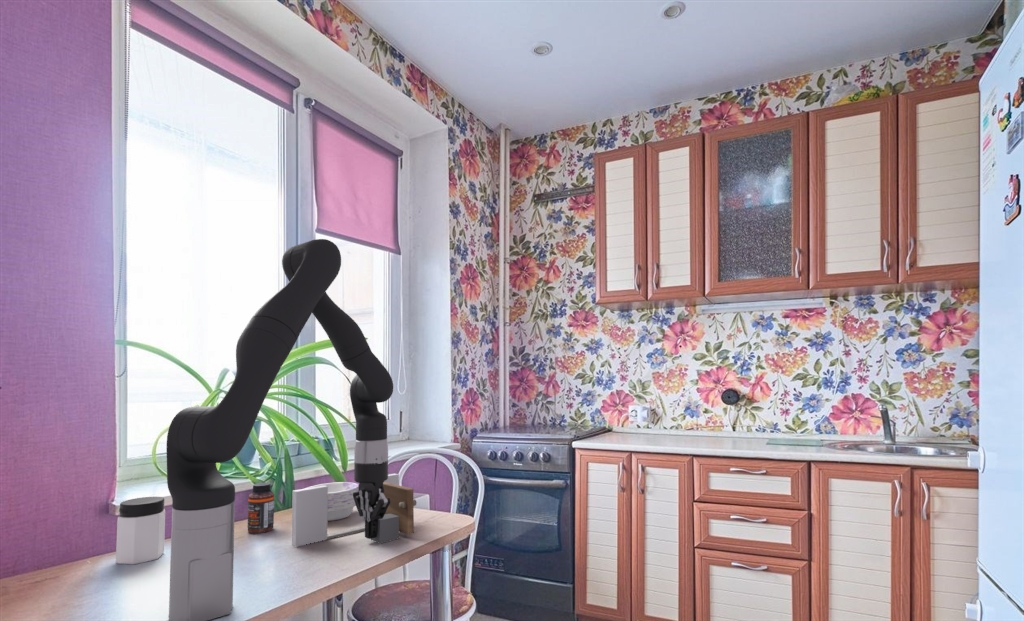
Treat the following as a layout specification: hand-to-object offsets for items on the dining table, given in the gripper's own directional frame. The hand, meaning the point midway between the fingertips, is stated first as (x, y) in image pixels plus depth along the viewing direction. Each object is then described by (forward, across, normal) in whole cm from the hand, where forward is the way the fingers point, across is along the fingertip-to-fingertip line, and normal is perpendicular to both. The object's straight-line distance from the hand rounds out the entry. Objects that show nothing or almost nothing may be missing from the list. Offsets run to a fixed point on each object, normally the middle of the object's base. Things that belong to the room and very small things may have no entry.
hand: (370, 537), depth 132 cm
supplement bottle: (+1, -30, -13) cm, 33 cm away
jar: (+2, -28, -39) cm, 48 cm away
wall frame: (+1, -11, +1) cm, 11 cm away
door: (0, -3, +8) cm, 8 cm away
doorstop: (+1, 0, +4) cm, 4 cm away
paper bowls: (+1, -29, +5) cm, 29 cm away
